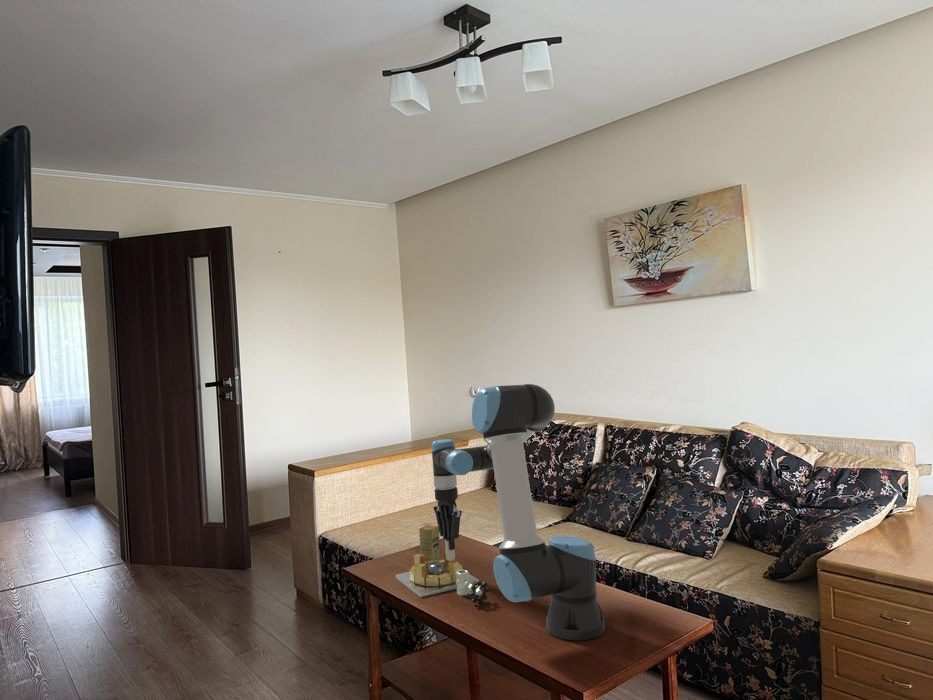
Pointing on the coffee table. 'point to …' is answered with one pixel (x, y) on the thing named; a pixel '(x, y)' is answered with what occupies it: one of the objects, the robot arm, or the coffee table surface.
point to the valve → (470, 587)
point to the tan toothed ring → (420, 575)
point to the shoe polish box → (429, 542)
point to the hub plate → (423, 591)
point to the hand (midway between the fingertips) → (450, 559)
